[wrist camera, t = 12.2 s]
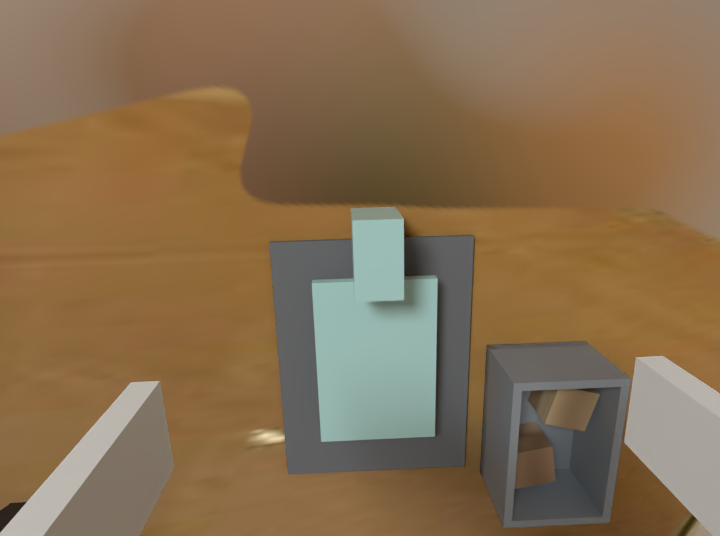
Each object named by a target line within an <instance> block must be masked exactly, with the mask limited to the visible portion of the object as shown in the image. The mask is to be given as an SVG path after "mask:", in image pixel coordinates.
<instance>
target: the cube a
mask: <svg viewBox="0 0 720 536" xmlns="http://www.w3.org/2000/svg"><path fill="white" fill-rule="evenodd" d="M554 481H556V477H555V467H554V457H553V448H552V445H551V444H550V442H549V441H548V439H547V438H546V436H545V435H544V434H543V432H542V431H541V429H540V428H539V426H538V425H537V423H536V422H530V423H525V424H520V425H519V438H518V450H517V463H516V476H515V489H518V488H523V487H528V486H533V485H538V484H544V483H549V482H554Z"/></svg>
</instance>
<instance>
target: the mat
mask: <svg viewBox="0 0 720 536" xmlns="http://www.w3.org/2000/svg"><path fill="white" fill-rule="evenodd" d="M269 244H270V257H271V269H272V282H273V294H274V306H275V319H276V331H277V343H278V356H279V368H280V380H281V393H282V405H283V417H284V430H285V442H286V454H287V467H288V474H307V473H328V472H349V471H371V470H392V469H413V468H435V467H456V466H465V442H466V418H467V395H468V371H469V347H470V323H471V299H472V275H473V251H474V235H453V236H423V237H404V276H429V275H436V277H437V278H438V289H437V345H436V402H435V437H414V438H393V439H372V440H351V441H330V442H321V430H320V413H319V397H318V380H317V363H316V347H315V330H314V313H313V297H312V280H324V279H350V278H353V259H352V239H331V240H301V241H271V242H269Z"/></svg>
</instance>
